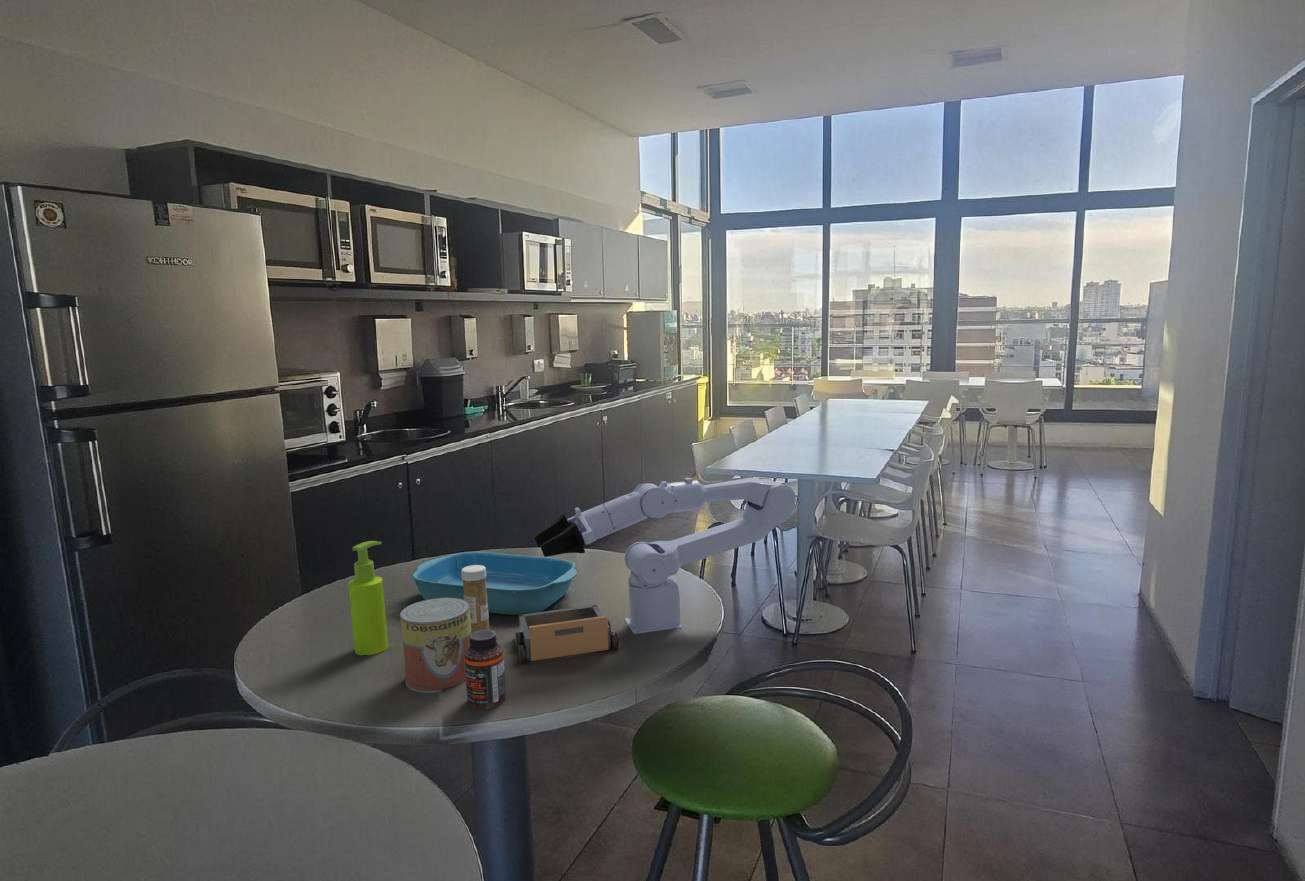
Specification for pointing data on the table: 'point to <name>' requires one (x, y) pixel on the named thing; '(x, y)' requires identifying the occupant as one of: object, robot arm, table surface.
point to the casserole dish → (500, 580)
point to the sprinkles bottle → (476, 596)
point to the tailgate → (568, 638)
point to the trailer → (553, 617)
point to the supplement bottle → (485, 671)
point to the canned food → (435, 643)
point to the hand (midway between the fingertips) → (539, 546)
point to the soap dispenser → (367, 605)
